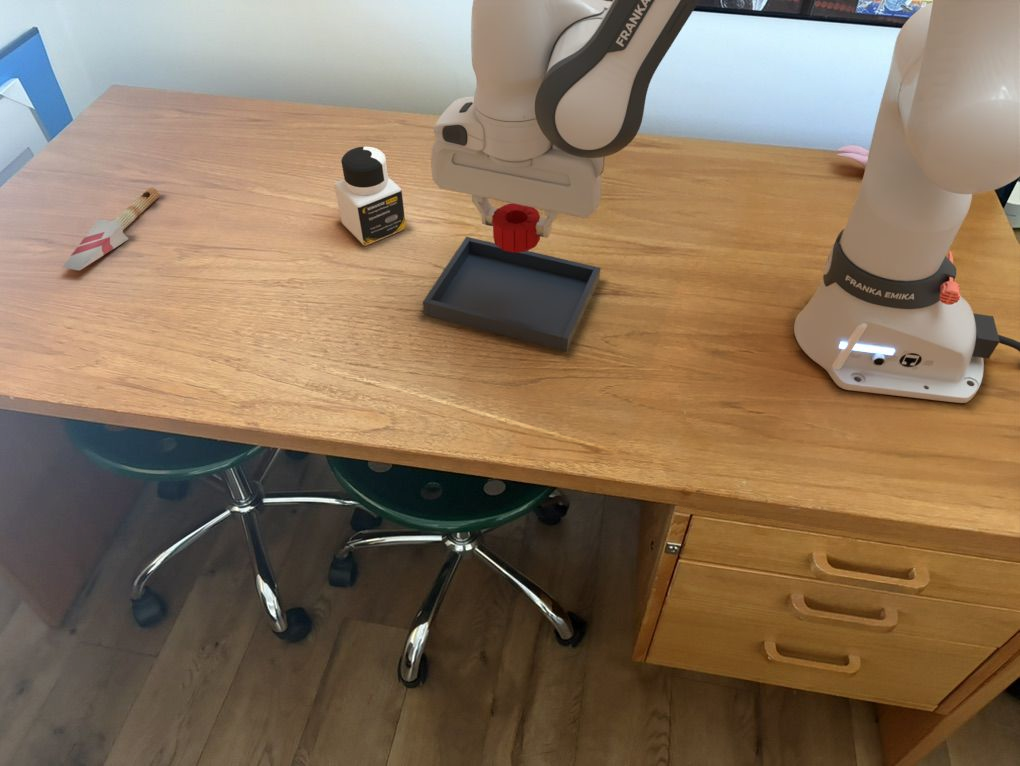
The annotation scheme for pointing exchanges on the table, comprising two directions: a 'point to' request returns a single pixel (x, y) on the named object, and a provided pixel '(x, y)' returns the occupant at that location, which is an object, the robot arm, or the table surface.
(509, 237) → the ring
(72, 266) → the garden trowel
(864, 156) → the rabbit figure
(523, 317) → the tray
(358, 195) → the medicine bottle
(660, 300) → the table surface
